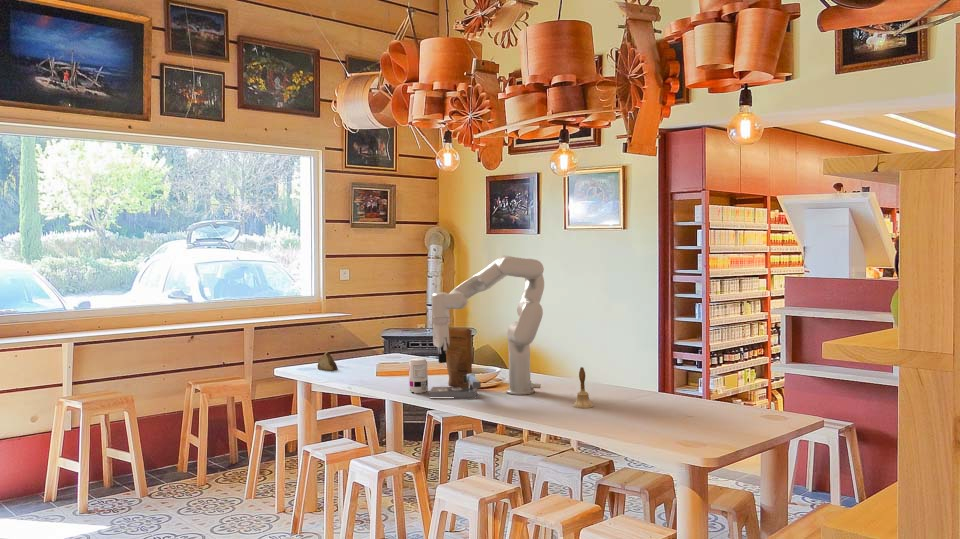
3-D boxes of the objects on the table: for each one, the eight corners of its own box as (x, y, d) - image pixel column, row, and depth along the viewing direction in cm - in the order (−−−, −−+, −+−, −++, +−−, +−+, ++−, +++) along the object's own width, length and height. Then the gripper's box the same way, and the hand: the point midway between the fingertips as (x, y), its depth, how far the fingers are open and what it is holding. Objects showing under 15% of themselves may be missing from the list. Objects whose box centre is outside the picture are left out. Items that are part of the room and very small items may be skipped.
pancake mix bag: (468, 390, 354) (466, 329, 352) (439, 385, 367) (438, 326, 366) (478, 388, 359) (477, 327, 357) (450, 382, 372) (448, 324, 370)
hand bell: (577, 409, 315) (577, 370, 314) (569, 404, 323) (569, 366, 322) (596, 407, 317) (596, 368, 316) (588, 402, 325) (587, 365, 324)
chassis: (477, 393, 348) (476, 379, 347) (475, 398, 338) (474, 384, 337) (432, 393, 350) (432, 379, 349) (429, 398, 340) (429, 384, 339)
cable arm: (466, 379, 347) (466, 373, 347) (474, 378, 348) (474, 373, 347) (472, 388, 327) (472, 382, 327) (481, 388, 328) (481, 382, 328)
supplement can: (406, 393, 352) (405, 360, 351) (416, 389, 359) (415, 357, 358) (421, 394, 348) (420, 361, 347) (431, 390, 355) (430, 358, 355)
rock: (311, 365, 415) (319, 365, 407) (319, 351, 418) (327, 350, 410) (327, 375, 420) (335, 375, 412) (335, 361, 423) (343, 361, 415)
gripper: (428, 319, 345) (429, 360, 347) (437, 323, 331) (439, 366, 332) (444, 318, 348) (445, 359, 349) (454, 322, 334) (456, 364, 335)
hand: (442, 362), depth 341 cm, fingers closed
